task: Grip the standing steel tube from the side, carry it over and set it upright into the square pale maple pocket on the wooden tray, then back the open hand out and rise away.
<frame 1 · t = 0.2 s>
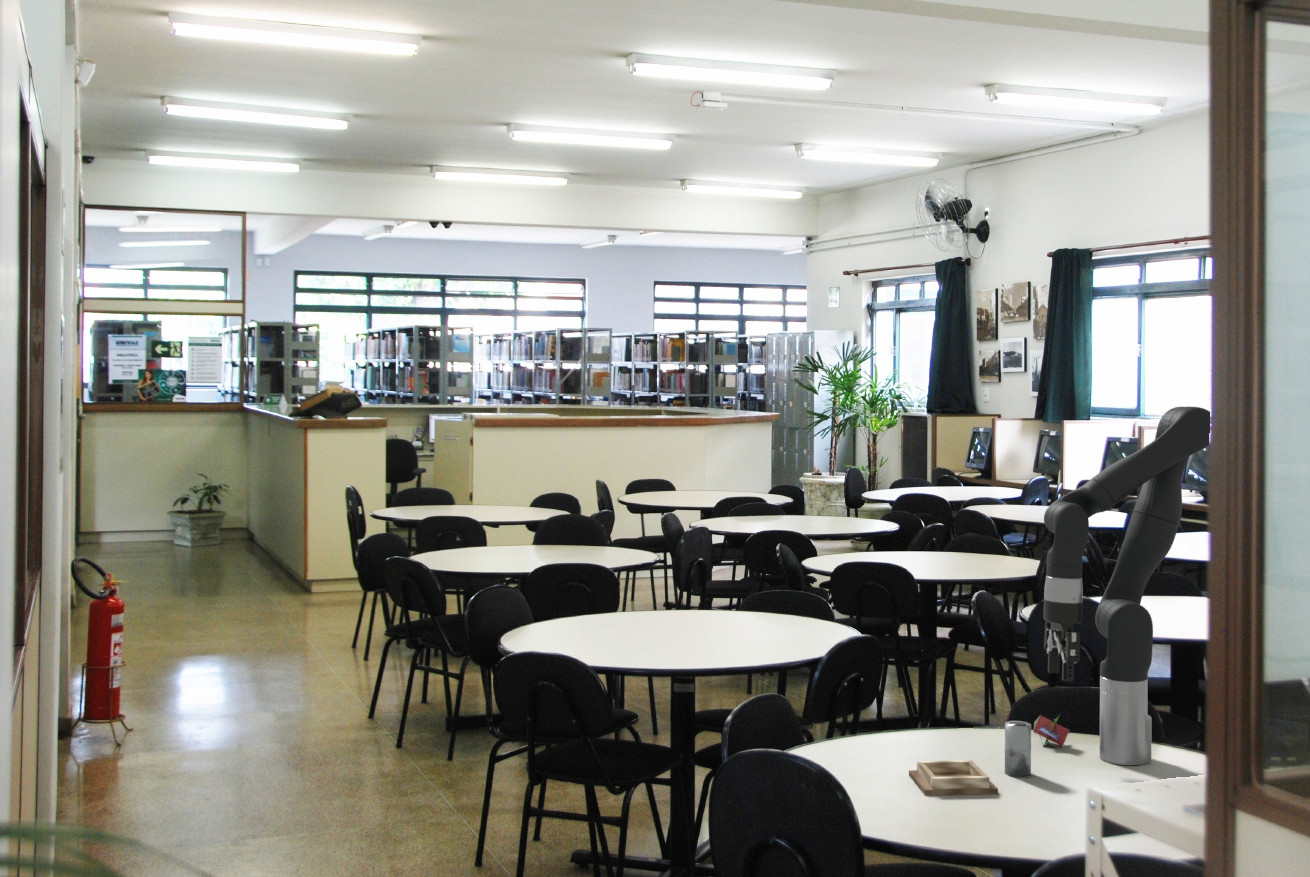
hand: (1060, 676, 243), 18 cm above the table, tool pointing down, fingers open, 8 cm apart
steel tube: (1017, 773, 236), on the table
geometric puzzle: (1051, 746, 255), on the table
wooden tray: (952, 784, 229), on the table
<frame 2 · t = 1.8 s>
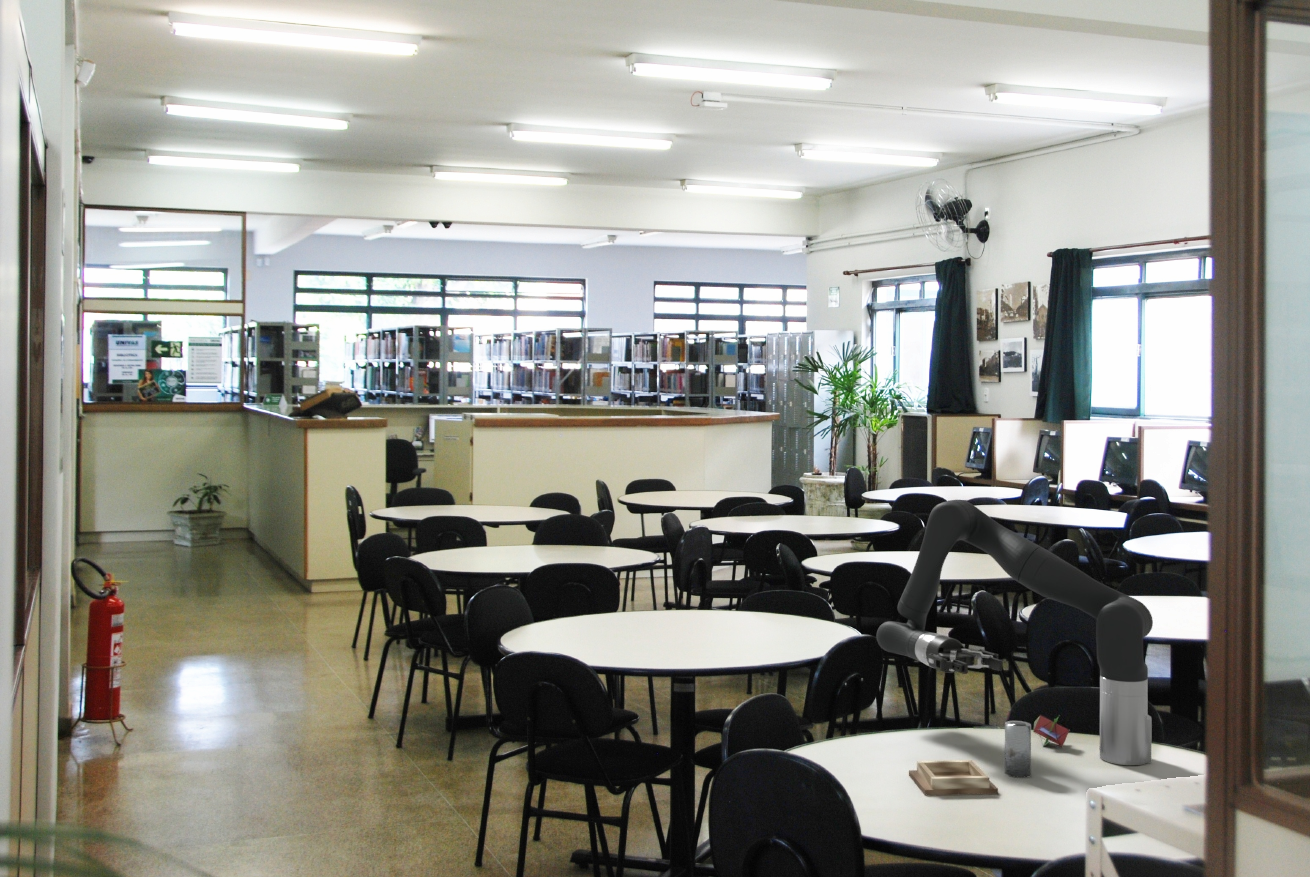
hand: (983, 667, 246), 19 cm above the table, tool horizontal, fingers open, 8 cm apart
nothing on the table moved.
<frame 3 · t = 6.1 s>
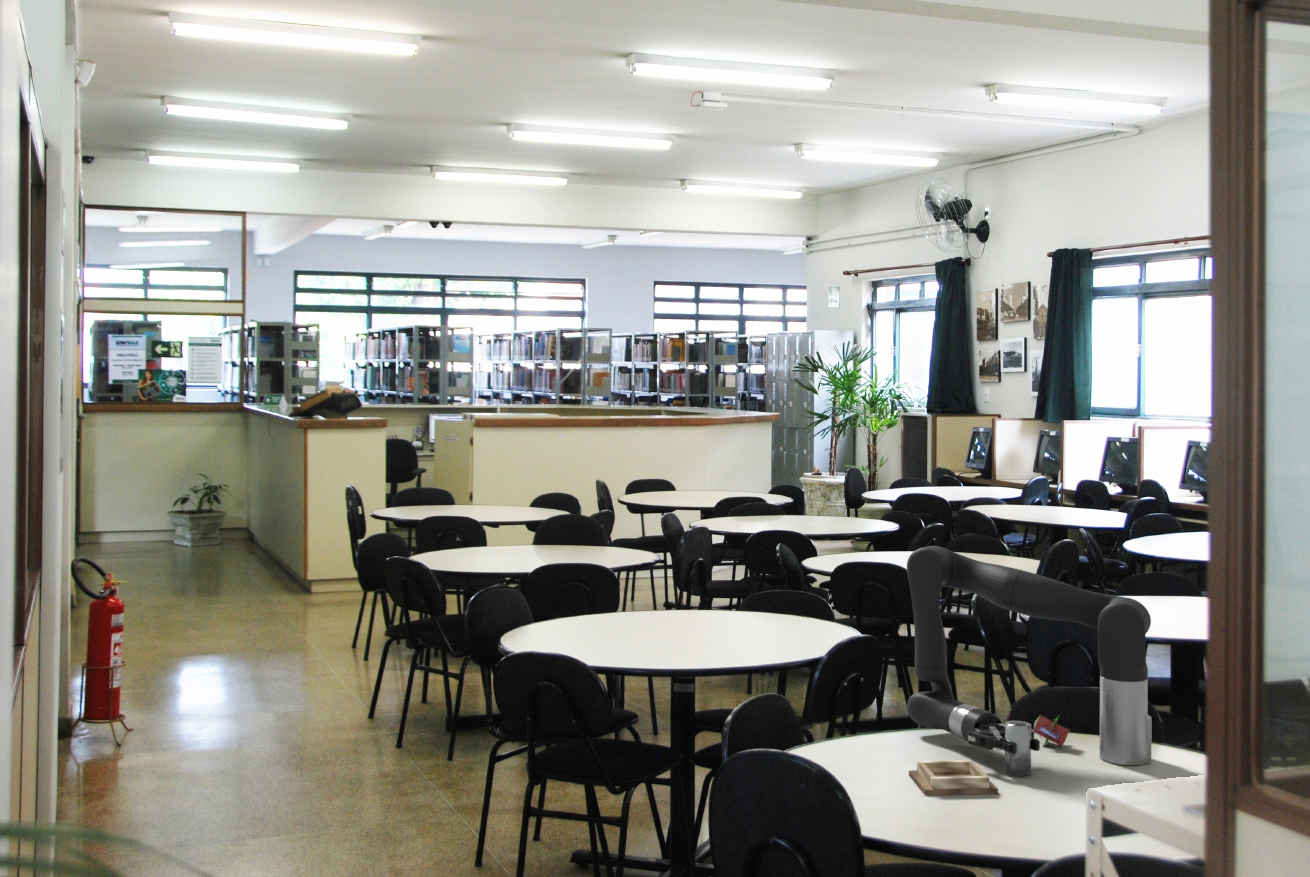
hand: (1026, 747, 233), 6 cm above the table, tool horizontal, fingers closed on steel tube, 5 cm apart
steel tube: (1017, 773, 236), on the table, touching gripper
everything else where it was.
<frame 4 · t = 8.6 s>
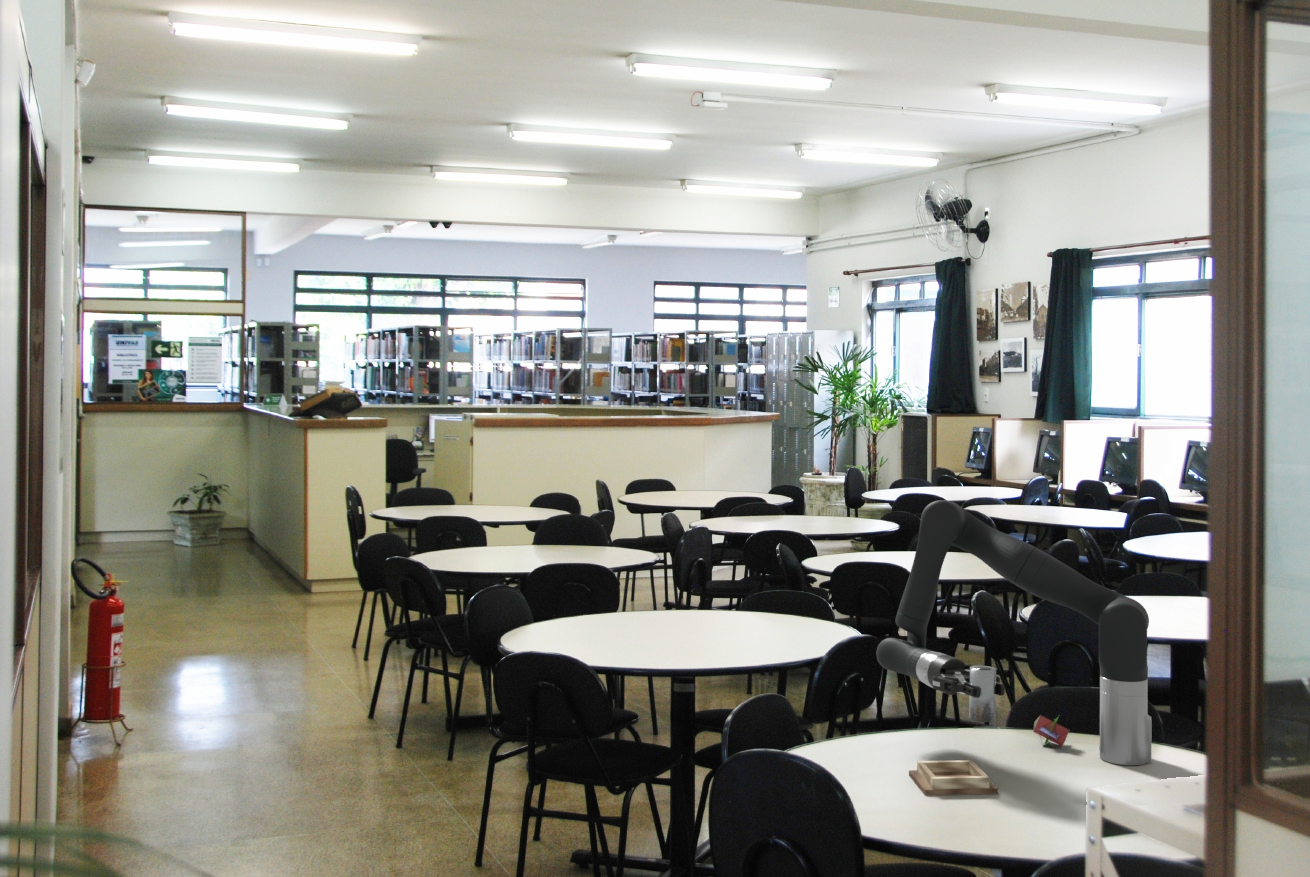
hand: (990, 691, 230), 18 cm above the table, tool horizontal, fingers closed on steel tube, 5 cm apart
steel tube: (982, 718, 233), point 12 cm above the table, touching gripper
everything else where it was.
when the fingers open (8 cm above the table, at t = 11.4 s): steel tube drops 1 cm, resting on wooden tray.
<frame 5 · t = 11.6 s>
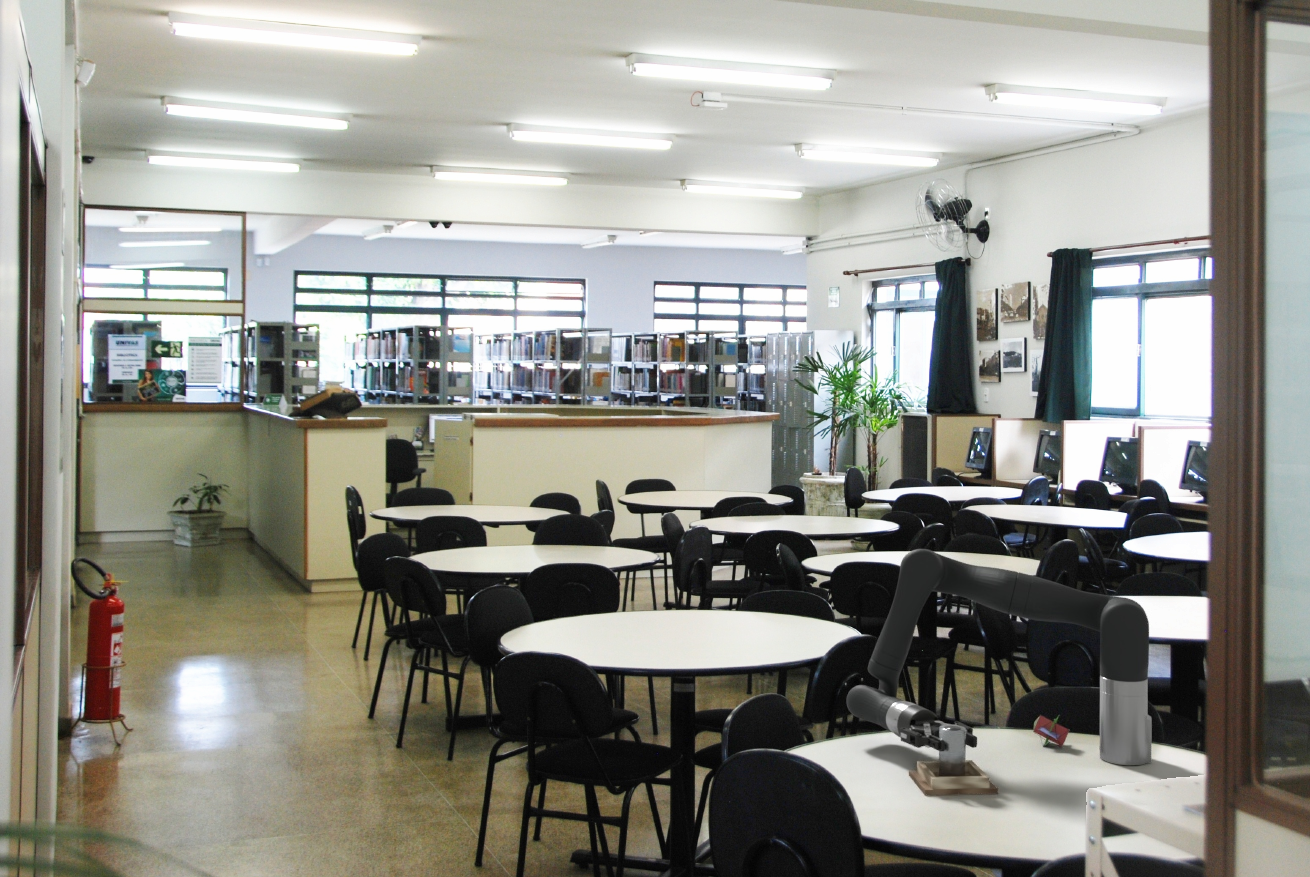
hand: (959, 744, 227), 8 cm above the table, tool horizontal, fingers open, 6 cm apart
steel tube: (951, 778, 229), point 1 cm above the table, touching wooden tray
everything else where it was.
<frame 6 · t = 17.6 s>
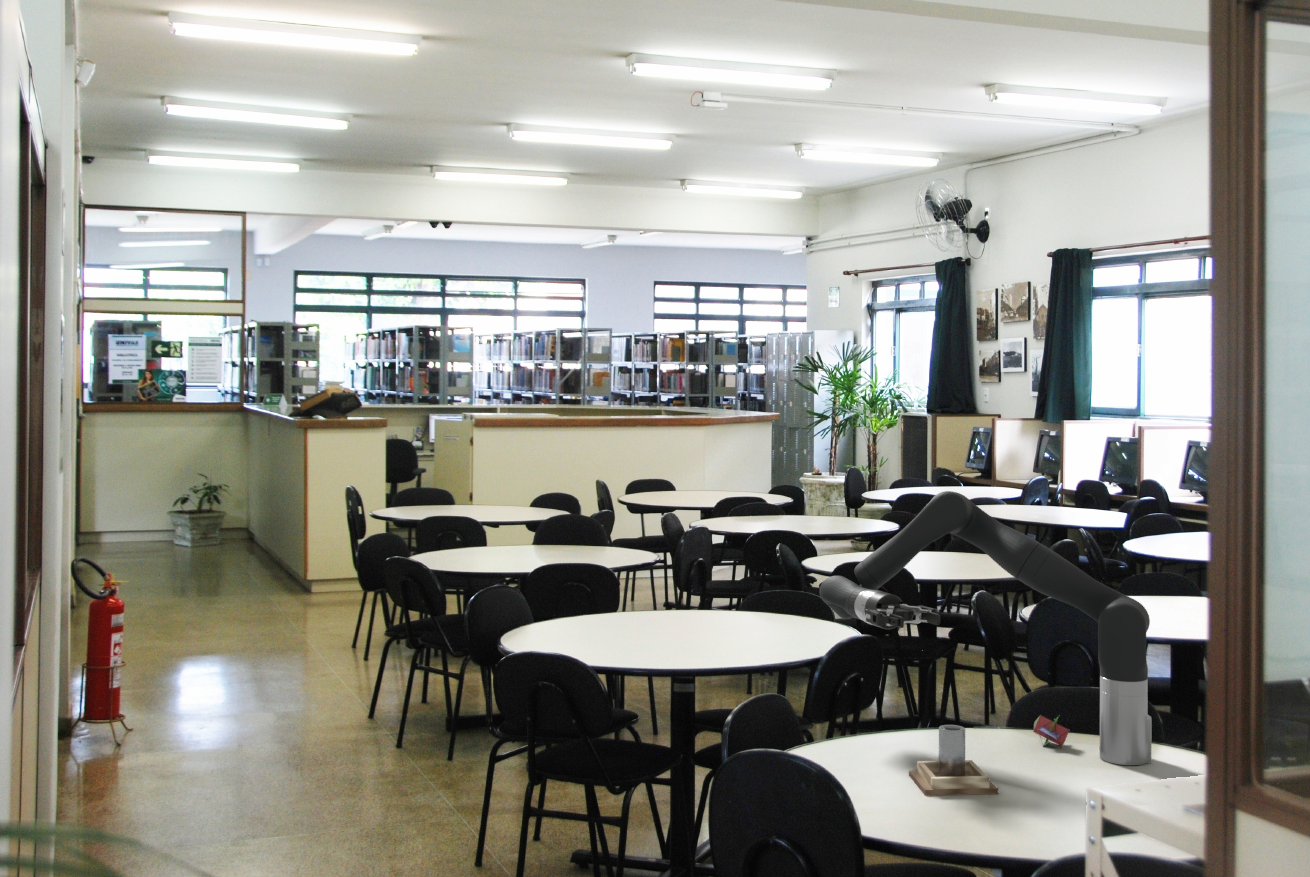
hand: (920, 621, 239), 30 cm above the table, tool horizontal, fingers open, 8 cm apart
nothing on the table moved.
at the end: steel tube 0.1 cm off-centre on the wooden tray, point 1.0 cm above the wooden tray's base; steel tube tilted 0°; the gripper is holding nothing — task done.
